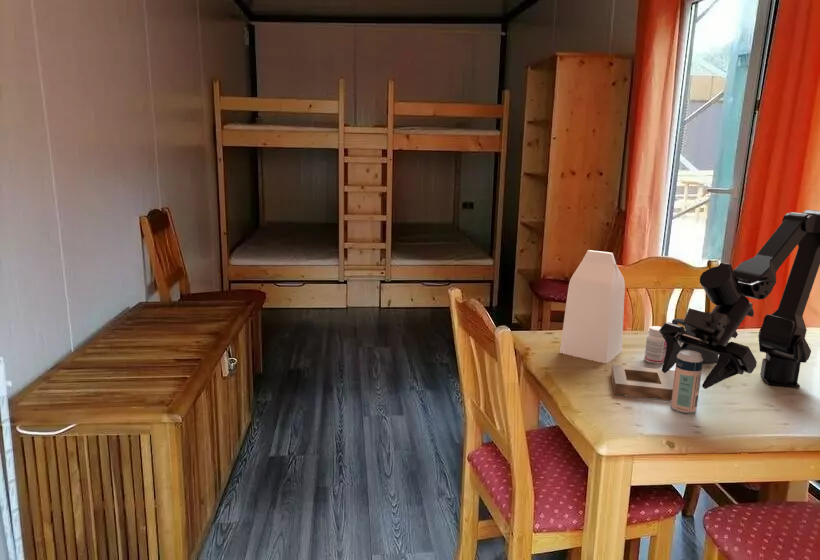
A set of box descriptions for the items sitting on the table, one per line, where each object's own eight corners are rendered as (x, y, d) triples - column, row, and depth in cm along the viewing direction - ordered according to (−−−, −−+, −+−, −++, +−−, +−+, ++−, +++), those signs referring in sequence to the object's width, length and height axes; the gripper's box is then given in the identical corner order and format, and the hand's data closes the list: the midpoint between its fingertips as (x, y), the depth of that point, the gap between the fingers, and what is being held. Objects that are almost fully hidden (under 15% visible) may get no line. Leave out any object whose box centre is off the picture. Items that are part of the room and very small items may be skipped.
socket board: (680, 381, 140) (682, 371, 139) (690, 403, 128) (691, 391, 128) (610, 374, 143) (611, 364, 143) (614, 394, 132) (615, 383, 131)
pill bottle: (666, 365, 150) (670, 331, 148) (645, 363, 151) (649, 330, 149) (662, 358, 155) (666, 326, 153) (642, 356, 156) (646, 324, 154)
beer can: (689, 404, 127) (696, 349, 125) (700, 414, 123) (708, 357, 120) (666, 404, 127) (673, 349, 125) (676, 414, 123) (684, 357, 120)
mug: (724, 358, 156) (730, 315, 153) (709, 366, 150) (715, 322, 147) (678, 346, 165) (683, 305, 162) (661, 353, 159) (666, 311, 156)
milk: (559, 353, 157) (567, 251, 152) (577, 342, 166) (585, 246, 161) (606, 363, 150) (616, 258, 145) (621, 351, 160) (632, 251, 154)
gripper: (670, 284, 130) (628, 342, 127) (756, 305, 114) (711, 372, 111) (690, 316, 135) (650, 372, 132) (775, 341, 120) (732, 405, 117)
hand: (682, 379), depth 123 cm, fingers open, 9 cm apart
